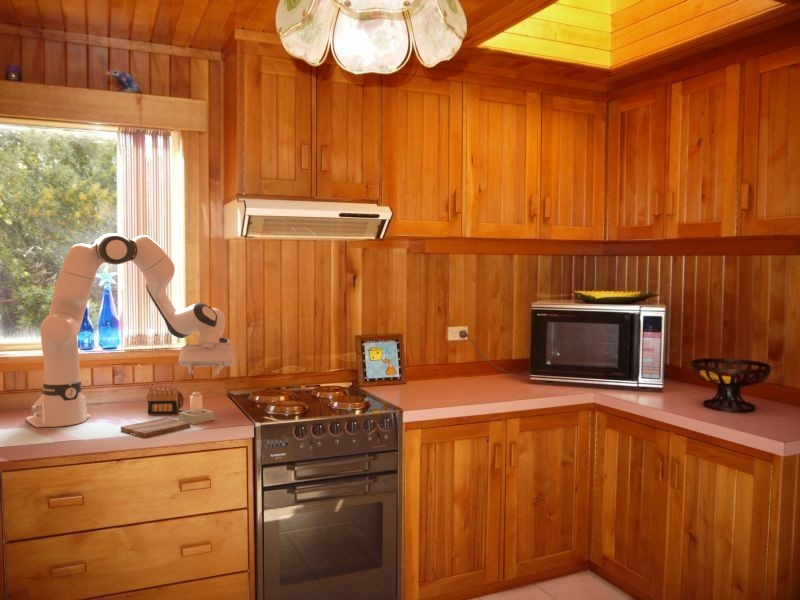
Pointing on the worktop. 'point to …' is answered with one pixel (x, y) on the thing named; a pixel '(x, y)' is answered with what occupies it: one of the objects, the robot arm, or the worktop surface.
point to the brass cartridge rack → (179, 398)
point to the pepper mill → (195, 403)
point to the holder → (196, 416)
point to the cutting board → (155, 427)
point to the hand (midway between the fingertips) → (203, 374)
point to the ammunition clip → (163, 399)
